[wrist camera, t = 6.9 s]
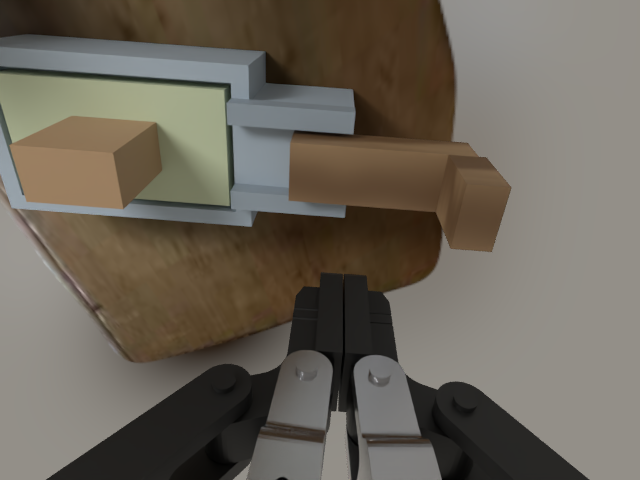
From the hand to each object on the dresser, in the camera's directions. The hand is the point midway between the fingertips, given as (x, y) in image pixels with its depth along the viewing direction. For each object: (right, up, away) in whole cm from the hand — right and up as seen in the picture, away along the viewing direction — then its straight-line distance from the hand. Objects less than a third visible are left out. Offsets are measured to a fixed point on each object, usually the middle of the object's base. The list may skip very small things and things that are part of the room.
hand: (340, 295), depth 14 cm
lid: (-13, +8, +13) cm, 20 cm away
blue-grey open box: (-10, +10, +17) cm, 22 cm away
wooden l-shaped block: (+3, +6, +12) cm, 14 cm away
